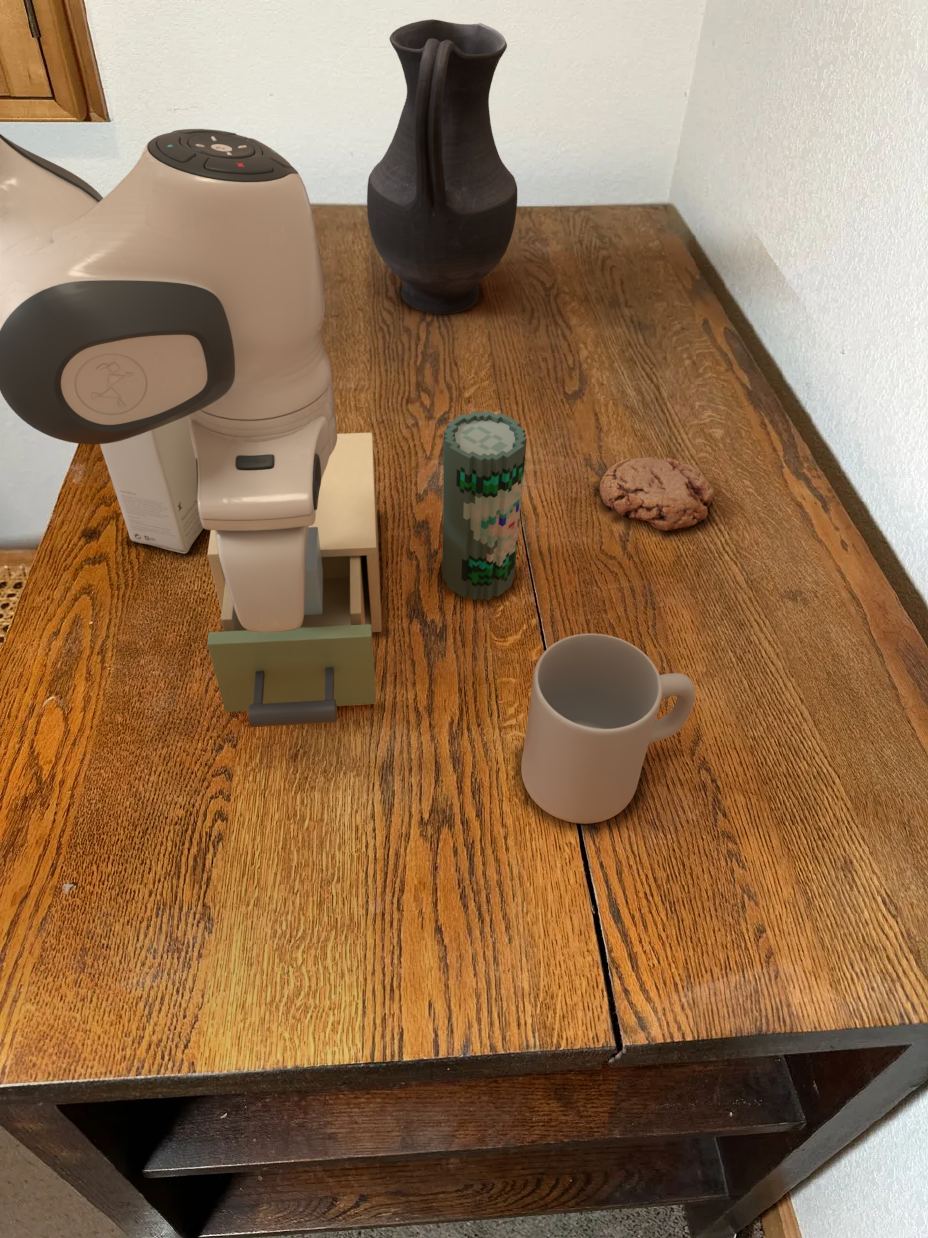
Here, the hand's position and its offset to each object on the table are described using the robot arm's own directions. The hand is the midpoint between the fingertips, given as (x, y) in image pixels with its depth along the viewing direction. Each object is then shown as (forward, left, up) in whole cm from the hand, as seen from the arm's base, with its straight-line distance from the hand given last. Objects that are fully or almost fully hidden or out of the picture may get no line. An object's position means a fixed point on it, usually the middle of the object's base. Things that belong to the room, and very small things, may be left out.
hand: (288, 578), depth 67 cm
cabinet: (0, +11, -10) cm, 15 cm away
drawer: (0, 0, -9) cm, 9 cm away
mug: (+22, -11, -10) cm, 27 cm away
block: (0, 0, -2) cm, 2 cm away
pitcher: (+15, +58, -10) cm, 61 cm away
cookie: (+33, +19, -10) cm, 39 cm away
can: (+15, +10, -10) cm, 21 cm away
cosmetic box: (-12, +19, -10) cm, 24 cm away
